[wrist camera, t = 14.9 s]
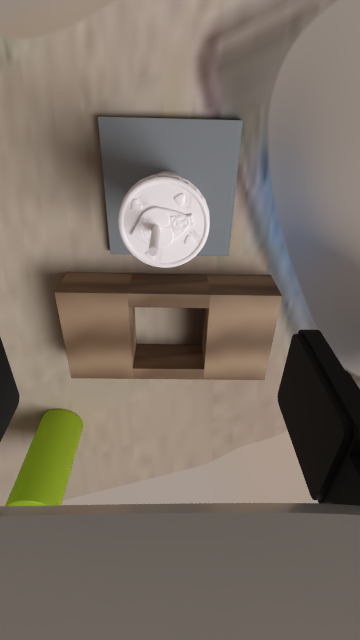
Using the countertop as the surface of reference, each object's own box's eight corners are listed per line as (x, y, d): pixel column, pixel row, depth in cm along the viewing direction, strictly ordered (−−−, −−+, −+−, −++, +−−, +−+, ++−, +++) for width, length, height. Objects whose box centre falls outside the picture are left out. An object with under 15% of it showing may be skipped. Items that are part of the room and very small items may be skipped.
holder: (66, 272, 37) (54, 292, 33) (271, 275, 37) (282, 295, 34) (80, 353, 43) (71, 378, 39) (256, 355, 43) (264, 380, 40)
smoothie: (122, 164, 30) (89, 208, 19) (193, 145, 30) (206, 178, 18) (143, 233, 34) (126, 307, 22) (208, 218, 33) (225, 285, 21)
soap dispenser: (94, 417, 49) (53, 583, 32) (69, 441, 52) (19, 605, 35) (58, 398, 47) (-7, 565, 30) (34, 424, 50) (-38, 590, 33)
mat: (99, 116, 29) (97, 116, 28) (241, 120, 29) (242, 120, 29) (111, 251, 36) (110, 254, 35) (227, 253, 36) (228, 256, 35)
